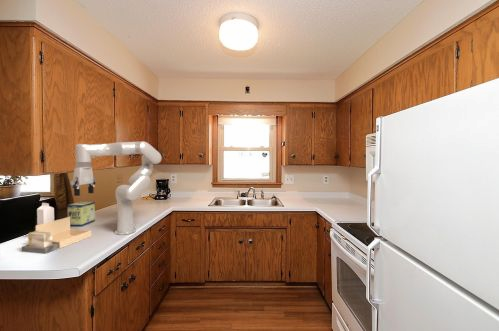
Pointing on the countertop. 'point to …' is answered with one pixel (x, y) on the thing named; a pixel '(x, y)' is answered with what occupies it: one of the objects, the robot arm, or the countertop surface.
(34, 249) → the block
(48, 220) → the milk
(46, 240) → the block
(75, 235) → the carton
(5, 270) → the countertop surface
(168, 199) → the countertop surface
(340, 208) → the countertop surface
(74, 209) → the protein box
